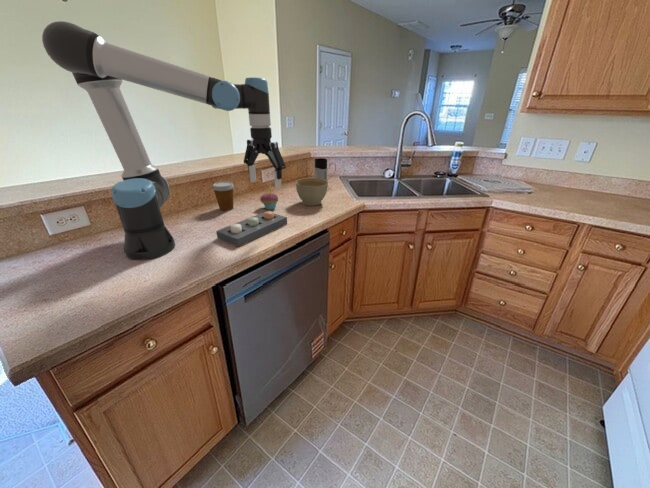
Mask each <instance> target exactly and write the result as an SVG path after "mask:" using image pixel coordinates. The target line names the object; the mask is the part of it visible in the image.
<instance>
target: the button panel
mask: <svg viewBox="0 0 650 488" xmlns="http://www.w3.org/2000/svg"><path fill="white" fill-rule="evenodd" d="M264 212H265V211H264ZM264 212H261V213H259V214H256V215H253V216H252V217H257V218H258V221H259V225H257V226H255V227H251V226H249V225H248V218H246V219H243V220H241V221H238V222H235V223H234V224H241V227H242V232H241V233H239V234H236V235H235V234H232V233H231V229H230V226H231V225H232V224H231V225H228V226H225V227H223V228H220V229H218V230H216V231H215V232H216V237H217V239H218V240H220V241H224V242H226V243H228V244H231V245H233V246H235V247H241V246H243V245H245V244H247V243H250V242H252V241H253V240H256V239H258V238H260V237H263V236H265V235H267V234H269V233H272V231H275V230H277V229H280V228H282V227H283V226H285V225H287V224H288V217H287V216H284V215H280V214H277V213H274V219H271V220H266V219H264Z"/></svg>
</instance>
